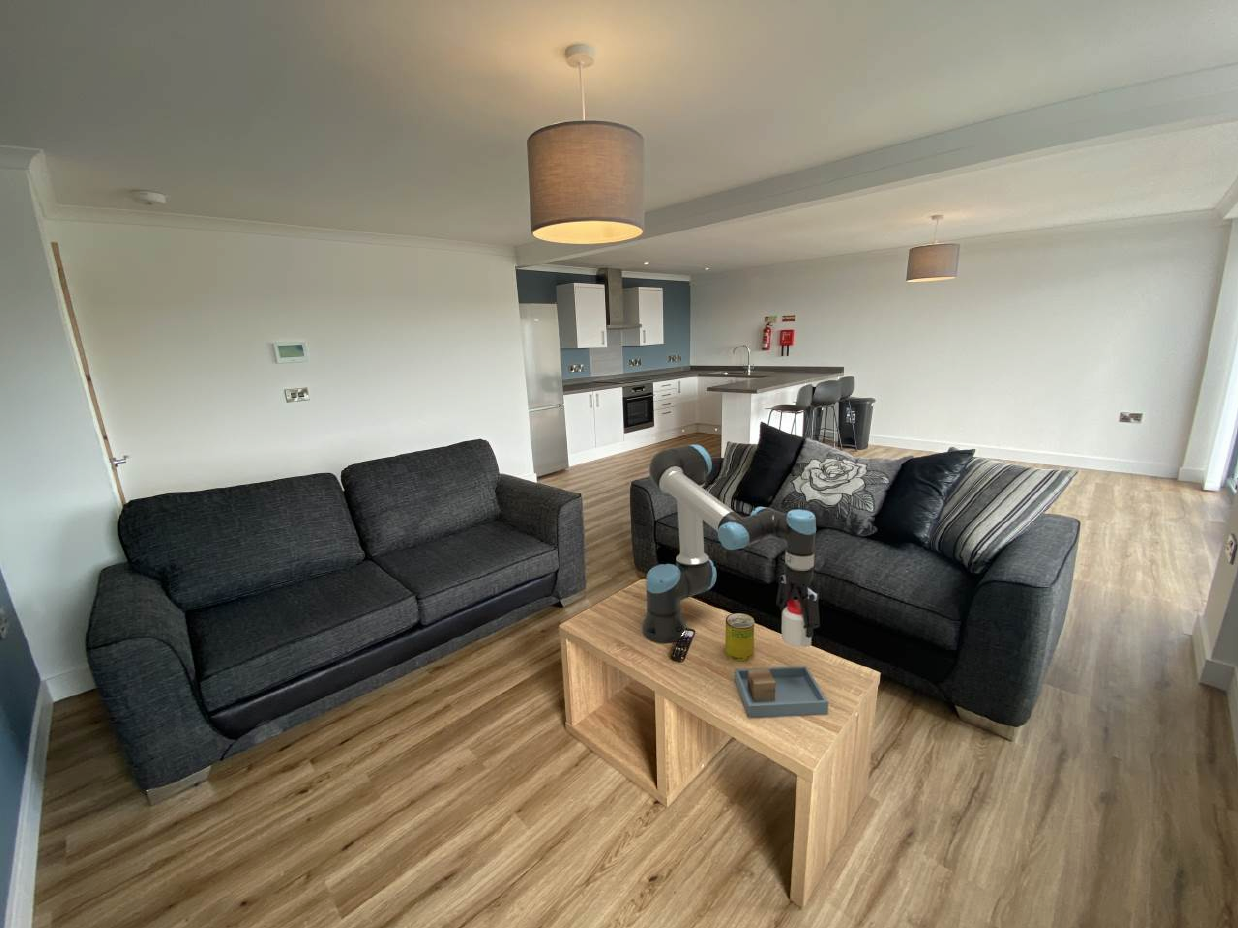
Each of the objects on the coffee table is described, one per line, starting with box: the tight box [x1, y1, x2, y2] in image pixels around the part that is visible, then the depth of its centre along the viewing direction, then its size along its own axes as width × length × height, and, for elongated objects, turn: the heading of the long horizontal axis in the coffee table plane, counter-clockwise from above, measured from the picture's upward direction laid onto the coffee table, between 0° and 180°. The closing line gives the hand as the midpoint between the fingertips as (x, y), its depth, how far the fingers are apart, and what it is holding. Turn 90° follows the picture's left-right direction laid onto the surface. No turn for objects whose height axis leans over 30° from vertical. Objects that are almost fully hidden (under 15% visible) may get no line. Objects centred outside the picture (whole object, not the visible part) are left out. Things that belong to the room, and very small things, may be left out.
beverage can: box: [724, 612, 755, 663], centre depth 165 cm, size 9×9×12 cm
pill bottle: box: [781, 599, 805, 648], centre depth 146 cm, size 8×8×11 cm
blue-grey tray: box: [734, 665, 829, 719], centre depth 146 cm, size 16×22×4 cm
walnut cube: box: [748, 669, 776, 702], centre depth 145 cm, size 6×6×6 cm
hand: (795, 637), depth 147 cm, fingers closed on pill bottle, 8 cm apart
